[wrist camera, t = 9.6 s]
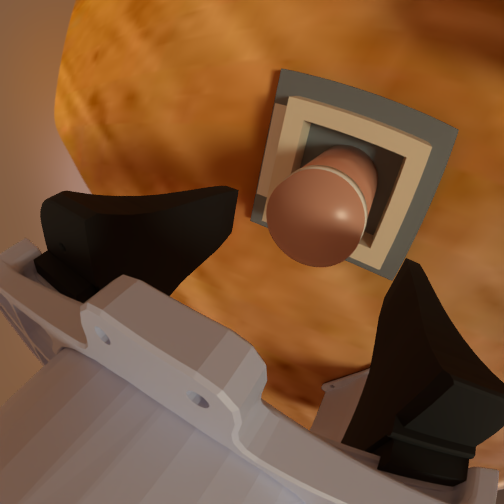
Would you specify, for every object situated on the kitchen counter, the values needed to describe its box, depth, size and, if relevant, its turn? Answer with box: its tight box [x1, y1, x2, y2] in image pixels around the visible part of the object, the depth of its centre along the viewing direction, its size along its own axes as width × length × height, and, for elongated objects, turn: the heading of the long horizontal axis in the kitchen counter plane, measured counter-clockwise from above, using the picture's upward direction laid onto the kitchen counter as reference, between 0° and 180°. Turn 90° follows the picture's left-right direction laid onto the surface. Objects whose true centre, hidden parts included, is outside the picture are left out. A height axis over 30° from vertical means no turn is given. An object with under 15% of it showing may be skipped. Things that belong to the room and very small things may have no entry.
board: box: [250, 69, 459, 280], centre depth 19 cm, size 12×12×3 cm
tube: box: [266, 145, 378, 267], centre depth 16 cm, size 4×4×8 cm
